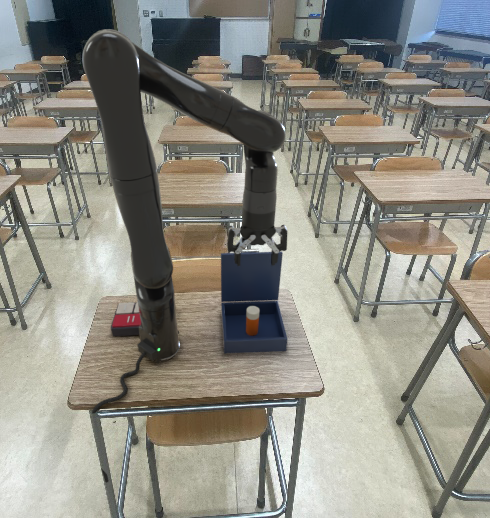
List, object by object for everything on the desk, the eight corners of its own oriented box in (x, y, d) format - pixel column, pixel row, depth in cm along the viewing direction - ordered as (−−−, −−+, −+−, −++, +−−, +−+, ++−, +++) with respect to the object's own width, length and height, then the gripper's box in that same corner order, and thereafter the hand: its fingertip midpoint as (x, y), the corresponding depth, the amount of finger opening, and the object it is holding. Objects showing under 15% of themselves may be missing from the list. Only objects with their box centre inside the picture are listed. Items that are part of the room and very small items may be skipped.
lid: (282, 253, 106) (279, 242, 111) (220, 254, 106) (220, 244, 110) (278, 300, 115) (275, 288, 120) (221, 302, 115) (220, 290, 119)
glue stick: (253, 337, 110) (254, 316, 105) (243, 332, 111) (243, 310, 107) (260, 330, 112) (262, 309, 107) (250, 325, 114) (251, 304, 109)
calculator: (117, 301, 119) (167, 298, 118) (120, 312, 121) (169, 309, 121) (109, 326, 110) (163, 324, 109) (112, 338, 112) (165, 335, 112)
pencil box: (285, 353, 106) (287, 339, 103) (223, 355, 105) (223, 341, 102) (276, 314, 119) (277, 300, 116) (221, 316, 118) (221, 302, 115)
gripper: (228, 213, 86) (228, 273, 95) (293, 212, 87) (286, 272, 96) (227, 198, 93) (226, 256, 102) (287, 197, 93) (281, 255, 102)
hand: (255, 264), depth 99 cm, fingers open, 8 cm apart
